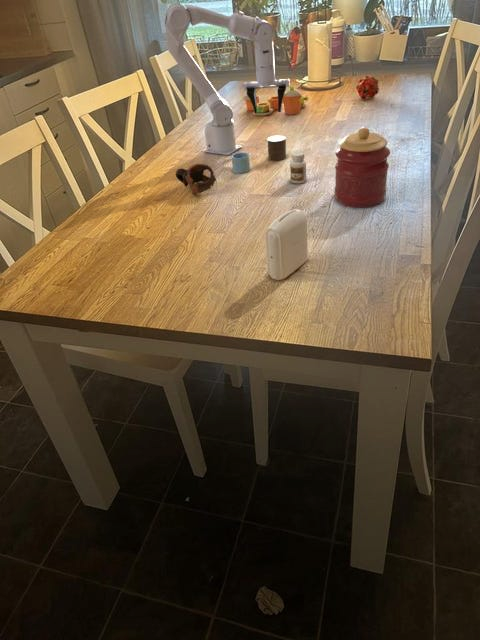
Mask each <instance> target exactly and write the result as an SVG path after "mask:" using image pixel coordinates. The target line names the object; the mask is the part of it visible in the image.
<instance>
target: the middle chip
mask: <svg viewBox="0 0 480 640" xmlns="http://www.w3.org/2000/svg"><path fill="white" fill-rule="evenodd" d="M284 152H286V153H287V144H286V145H285V146H283V147H280V148H271V147H268V146H267V154H268V153H270V154H282V153H284Z"/></svg>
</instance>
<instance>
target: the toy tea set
mask: <svg viewBox="0 0 480 640" xmlns="http://www.w3.org/2000/svg"><path fill="white" fill-rule="evenodd" d="M242 100H243V101H245V106H246V109H247V111H249V112H255V111H254V108H253V105H252V102H251V100H250V98H249V97H248V95H247V94H246V95H243V97H242ZM256 100H257V108H258V112H257V114H255V115H256V116H262V117H263V116H268V115H270V114H272V113H273V112H274V110H278V95H273V96H270V97H268V98H267V102H263V101H262V102H260V96H258V95H256ZM305 101H306V102H307V101H309V97H308V96H304V95H303V94H302V93H301V92H300V91H299V90H297V89H295V88H294V86H293V85H291V86H289V89H288V90H285V93H284V96H283V100H282V105H281V109H282V108H283V109H284V113H285V114H286V115H289V116H291V115H294V116H295V115H298V114H300V112H301V108H304V107H306V106H307V103H306V102H305Z"/></svg>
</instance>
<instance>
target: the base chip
mask: <svg viewBox="0 0 480 640" xmlns="http://www.w3.org/2000/svg"><path fill="white" fill-rule="evenodd" d="M267 158H268V160H269V161H273V162H276V161H277V162H278V161H279V162H280V161H283V160H285V159H286V158H287V151H286V152H284V153H282V154H270V153H268V152H267Z"/></svg>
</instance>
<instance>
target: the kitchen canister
mask: <svg viewBox="0 0 480 640" xmlns="http://www.w3.org/2000/svg"><path fill="white" fill-rule="evenodd" d="M338 145H339V147H338V149H337V150H335V156H336V159H337V162H336V163H335V166H334V168H335V181H334V183H335V185H334V198H335V200H336V201H337V202H338V203H339V204H340V205H344V206H346V207H351V208H369V207H373V206H376V205H379V204H381V203H382V202H384V200H385V199H386V195H387V189H388V188H387V179H388V172H389V168H390V167H389V166H390V164H389V162H388V157H389V156H390V155H391V150H390V148H389V147H387V145H388V140H387V139H386V138H385V137H383V136H382V135H381V134H380V133H378V132H377V133H376V132H373V131H370V129H369V128H368V127H365V126H362V127H361V128H359V130H358V132H353V133H350V134H348V135H346V136H345V137H344V138H342V139H341V140H340V141H339V144H338Z"/></svg>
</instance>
